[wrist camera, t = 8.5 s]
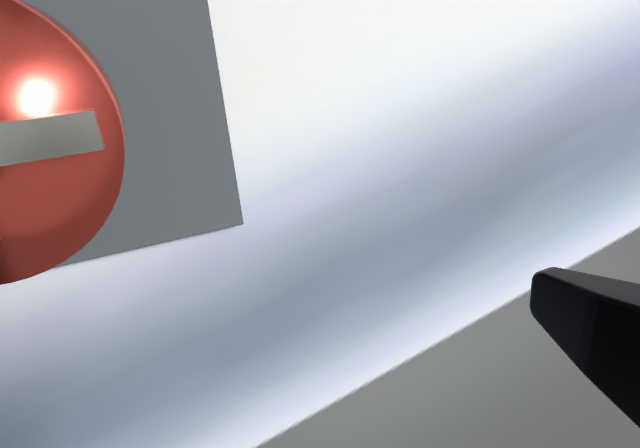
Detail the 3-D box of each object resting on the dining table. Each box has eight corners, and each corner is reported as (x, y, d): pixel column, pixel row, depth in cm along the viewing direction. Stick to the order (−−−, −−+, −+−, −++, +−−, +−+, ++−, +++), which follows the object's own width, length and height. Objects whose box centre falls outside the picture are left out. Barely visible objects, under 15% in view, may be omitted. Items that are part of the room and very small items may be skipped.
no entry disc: (99, -12, 15) (76, -41, 8) (143, 162, 18) (154, 256, 11) (-121, 2, 14) (-392, -18, 6) (-38, 193, 16) (-167, 329, 9)
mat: (241, 220, 21) (243, 224, 21) (-111, 300, 17) (-115, 306, 17) (182, -138, 15) (184, -141, 15) (-361, -145, 11) (-376, -150, 11)
